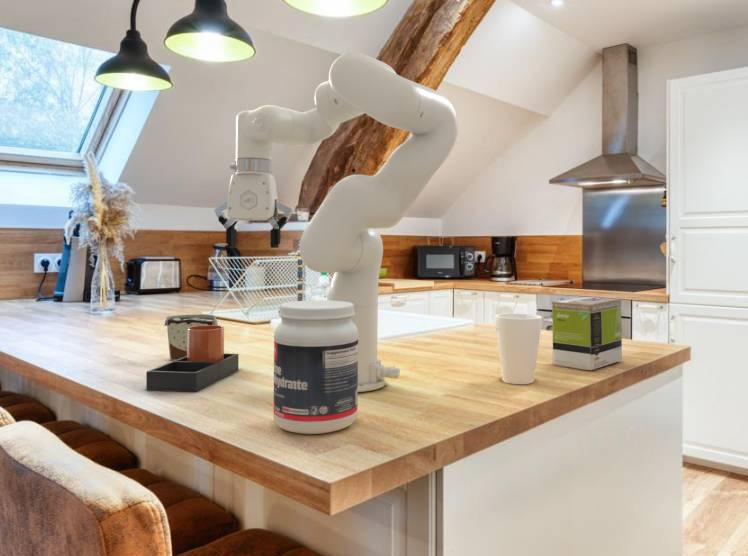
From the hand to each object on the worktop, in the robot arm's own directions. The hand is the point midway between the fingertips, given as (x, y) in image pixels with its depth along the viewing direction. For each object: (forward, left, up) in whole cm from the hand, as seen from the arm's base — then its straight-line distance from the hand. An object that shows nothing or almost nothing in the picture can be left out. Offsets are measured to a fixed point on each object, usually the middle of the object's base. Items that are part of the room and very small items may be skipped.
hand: (253, 247), depth 134 cm
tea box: (-74, -17, -26) cm, 80 cm away
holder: (+7, +12, -26) cm, 30 cm away
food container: (+17, -8, -26) cm, 32 cm away
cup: (+7, +7, -26) cm, 28 cm away
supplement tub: (-25, +37, -26) cm, 52 cm away
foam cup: (-57, +3, -26) cm, 63 cm away
